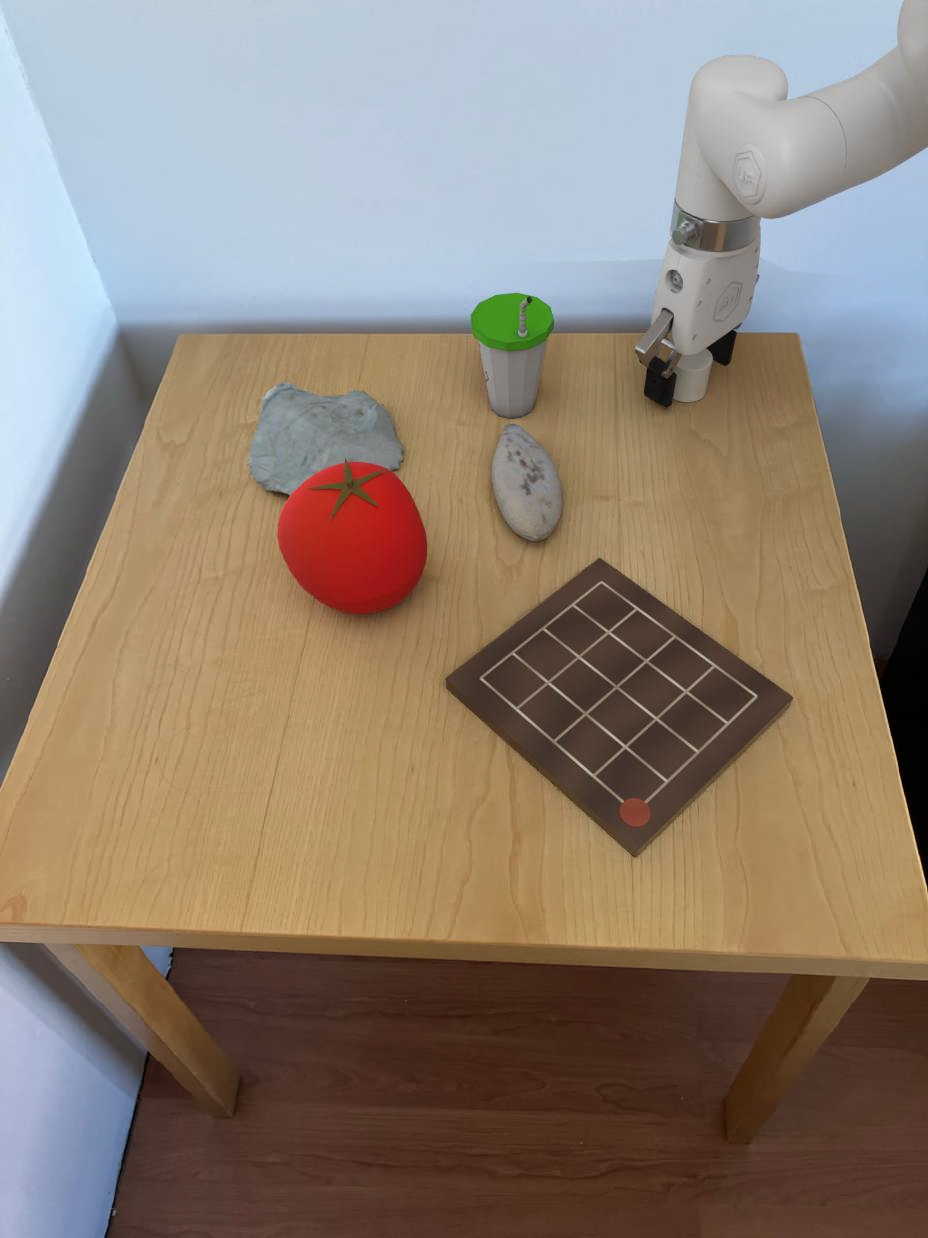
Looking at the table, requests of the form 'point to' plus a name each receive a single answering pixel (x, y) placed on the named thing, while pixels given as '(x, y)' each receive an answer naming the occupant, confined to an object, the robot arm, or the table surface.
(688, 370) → the white canister
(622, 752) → the board
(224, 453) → the table surface
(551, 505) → the decorative stone
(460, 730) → the table surface
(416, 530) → the tomato
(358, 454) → the stone
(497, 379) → the cup
